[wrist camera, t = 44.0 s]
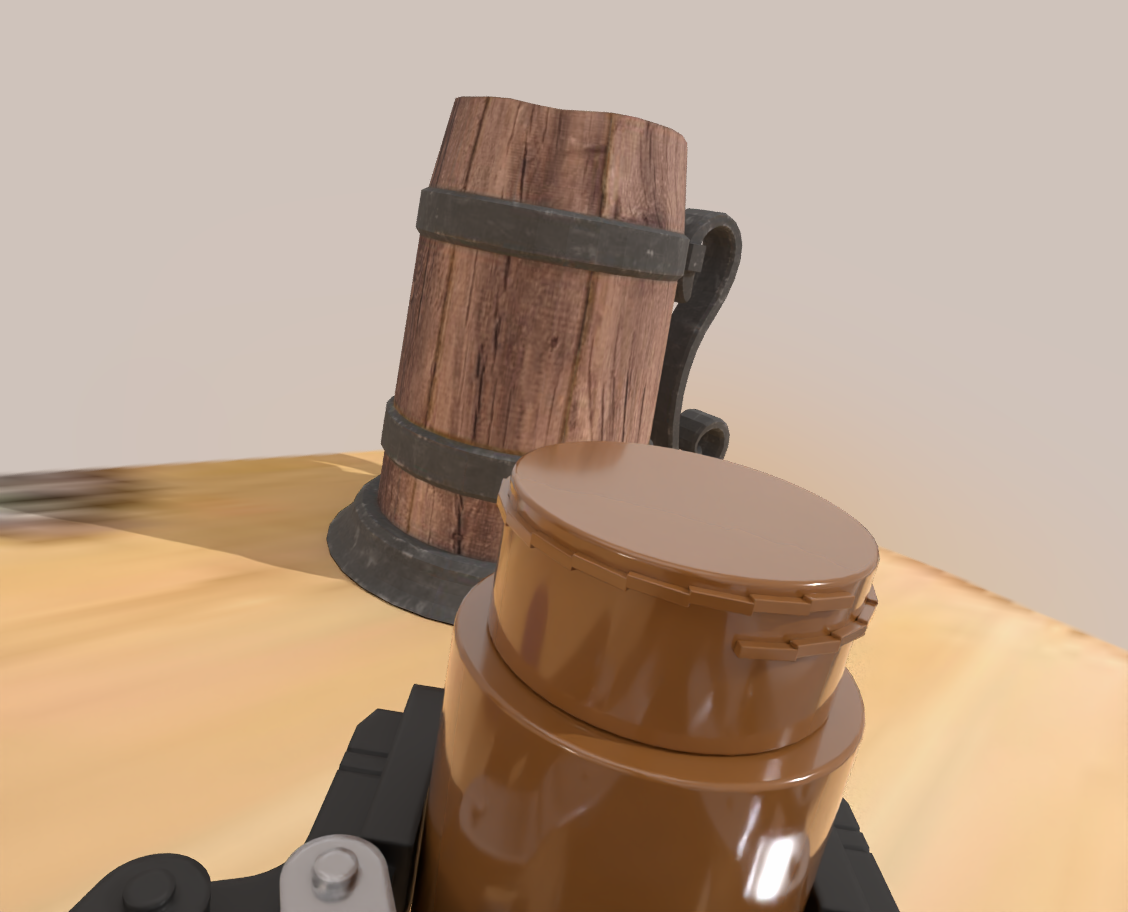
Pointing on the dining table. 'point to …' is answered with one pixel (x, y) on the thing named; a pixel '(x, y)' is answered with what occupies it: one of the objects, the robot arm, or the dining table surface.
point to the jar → (648, 691)
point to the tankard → (533, 331)
